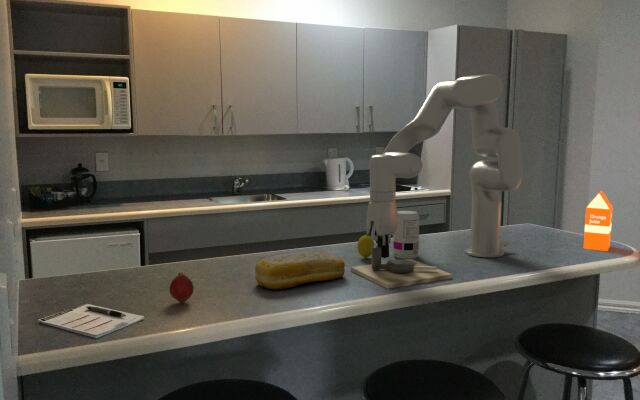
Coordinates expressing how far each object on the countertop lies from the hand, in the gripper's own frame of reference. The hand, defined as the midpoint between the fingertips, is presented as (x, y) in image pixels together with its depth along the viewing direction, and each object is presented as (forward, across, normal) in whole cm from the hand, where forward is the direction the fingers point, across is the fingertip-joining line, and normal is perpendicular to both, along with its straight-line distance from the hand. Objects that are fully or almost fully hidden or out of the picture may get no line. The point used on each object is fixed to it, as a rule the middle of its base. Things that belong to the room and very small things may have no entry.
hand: (383, 256), depth 167 cm
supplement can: (+5, -19, -5) cm, 20 cm away
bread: (+4, +24, -11) cm, 27 cm away
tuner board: (+4, 0, +6) cm, 7 cm away
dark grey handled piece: (+3, -1, +7) cm, 7 cm away
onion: (+3, +58, -20) cm, 61 cm away
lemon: (+5, -8, -13) cm, 16 cm away
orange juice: (+7, -76, +37) cm, 85 cm away
